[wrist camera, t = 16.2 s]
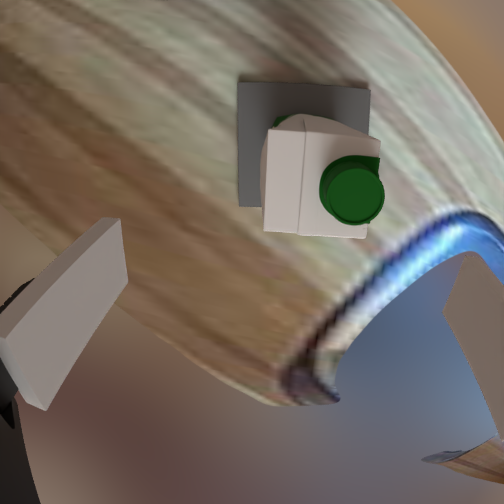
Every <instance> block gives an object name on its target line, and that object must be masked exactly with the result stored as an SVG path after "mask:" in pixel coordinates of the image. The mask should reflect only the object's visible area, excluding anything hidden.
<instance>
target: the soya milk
mask: <svg viewBox="0 0 504 504" xmlns="http://www.w3.org/2000/svg"><path fill="white" fill-rule="evenodd" d="M379 150H380V140H378V139H376V138H373V137H371V136H369V135H366V134H364V133H362V132H360V131H357V130H355V129H352V128H350V127H348V126H346V125H344V124H342V123H340V122H338V121H336V120H334V119H332V118H329V117H324V116H318V115H310V114H291V115H286V116H280V117H277V118H276V120H275V122H274V124H273V126H272V128H271V129H268V133H267V136H266V139H265V142H264V145H263V148H262V152H261V162H260V190H261V203H262V214H263V229H264V231H273V232H288V233H297V234H298V235H304V236H314V235H315V236H330V237H345V238H361V239H365V238H366V235H367V229H368V224H369V223H370V221H371V220H373V219H374V218H375V217H376V216H377V215H378V214H379V212H380V211H381V209H382V207H383V204H384V199H385V193H384V188H383V185H382V182H381V181H380V179H379V174H378V169H379V163H380V158H378V157H379Z"/></svg>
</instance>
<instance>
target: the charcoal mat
mask: <svg viewBox="0 0 504 504" xmlns="http://www.w3.org/2000/svg"><path fill="white" fill-rule="evenodd" d="M370 92H371V90H368V89H360V88H351V87H342V86H331V85H318V84H302V83H274V82H239V83H238V171H239V206H241V207H262V203H261V190H260V162H261V152H262V148H263V145H264V142H265V139H266V136H267V133H268V129H271V128H272V126H273V124H274V122H275V120H276V118H277V117H280V116H286V115H291V114H310V115H318V116H324V117H329V118H332V119H334V120H336V121H338V122H340V123H342V124H344V125H346V126H348V127H350V128H352V129H355V130H357V131H360V132H362V133H364V134H366V135H368V131H369V114H370Z"/></svg>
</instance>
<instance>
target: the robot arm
mask: <svg viewBox="0 0 504 504" xmlns="http://www.w3.org/2000/svg"><path fill="white" fill-rule="evenodd" d="M127 283H128V277H127V270H126V263H125V256H124V248H123V240H122V231H121V222H120V219H118V218H106V217H102V218H101V219H100V220H99V221H98V222H97V223H95V224H94V225H93V226H92V227H91V228H89V229H88V230H87V231H86V232H85V233H84V234H83V235H81V236H80V237H79V238H78V239H77V240H76V241H75V242H73V243H72V244H71V245H70V246H69V247H68V248H67V249H66V250H65V251H63V252H62V253H61V254H60V255H59V256H58V257H57V258H56V259H55V260H54V261H53V262H52V263H50V264H49V265H48V266H47V267H46V268H45V269H44V270H43V271H42V272H41V273H40V274H39V275H38V276H37V277H36V278H33V279H32V280H30V281H28V282H26V283H25V284H23V285H21V286H20V287H19V288H18V289H17V290H16V291H15V292H14V293H13V294H12V297H9V298H8V299H7V301H5V302H4V305H2V306H1V307H0V504H41V503H40V500H39V497H38V494H37V491H36V487H35V484H34V480H33V477H32V473H31V469H30V466H29V462H28V458H27V454H26V449H25V444H24V439H23V434H22V429H21V423H20V417H19V411H18V405H17V402H16V400H15V398H14V396H15V394H16V392H17V391H18V390H19V392H20V393H21V394H22V396H23V398H24V399H25V401H26V402H27V403H29V404H31V405H33V406H36V407H38V408H40V409H42V410H45V411H46V410H47V409H48V407H49V405H50V403H51V402H52V400H53V398H54V396H55V395H56V393H57V391H58V390H59V388H60V386H61V384H62V383H63V381H64V379H65V378H66V376H67V374H68V373H69V371H70V369H71V368H72V366H73V364H74V363H75V361H76V359H77V358H78V357H79V355H80V353H81V352H82V350H83V349H84V347H85V345H86V344H87V342H88V341H89V339H90V338H91V336H92V335H93V333H94V331H95V330H96V328H97V327H98V325H99V324H100V322H101V321H102V319H103V318H104V316H105V315H106V313H107V312H108V310H109V309H110V307H111V306H112V304H113V303H114V302H115V300H116V299H117V297H118V296H119V294H120V293H121V291H122V290H123V289H124V287H125V286H126V284H127ZM442 313H443V315H444V317H445V318H446V320H447V322H448V324H449V326H450V328H451V329H452V331H453V333H454V335H455V337H456V339H457V341H458V343H459V345H460V346H461V349H462V351H463V353H464V355H465V357H466V359H467V361H468V363H469V365H470V367H471V369H472V371H473V373H474V375H475V378H476V380H477V382H478V384H479V386H480V389H481V391H482V393H483V396H484V398H485V400H486V403H487V405H488V407H489V410H490V412H491V415H492V417H493V419H494V422H495V425H496V427H497V430H498V433H499V435H500V438H501V441H504V285H503V284H502V283H501V282H500V281H499V279H498V278H497V277H496V276H495V275H494V274H493V272H492V271H491V270H490V269H489V268H488V267H487V266H486V265H485V263H484V262H483V261H482V260H481V259H480V258H479V257H473V256H466V255H465V257H464V260H463V263H462V265H461V268H460V271H459V273H458V276H457V278H456V281H455V283H454V286H453V288H452V291H451V293H450V295H449V298H448V300H447V302H446V305H445V307H444V309H443V311H442Z"/></svg>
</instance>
